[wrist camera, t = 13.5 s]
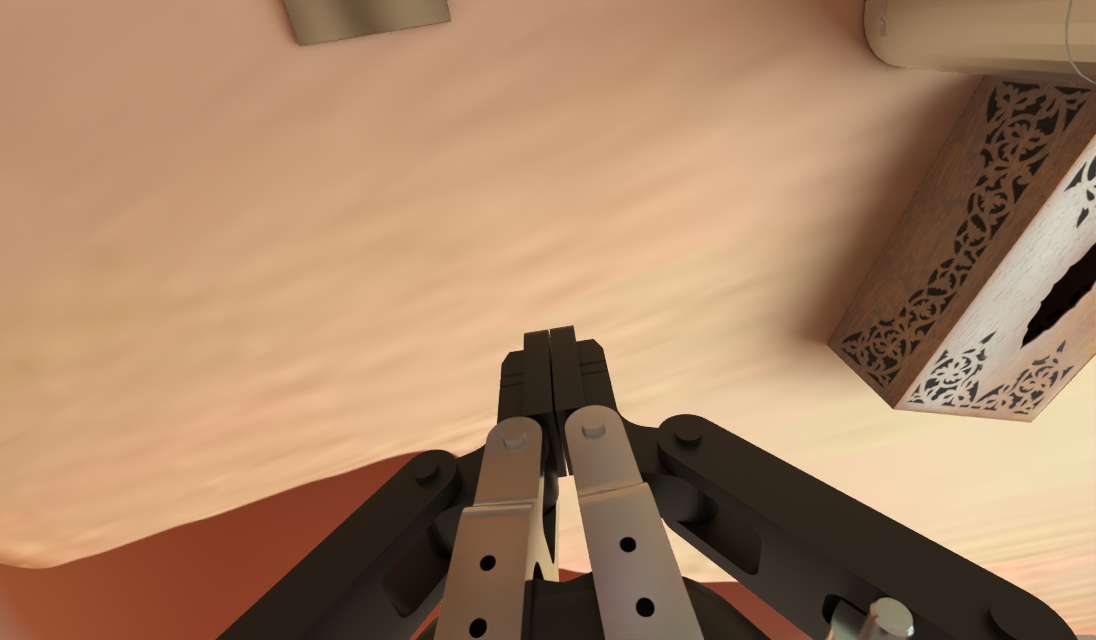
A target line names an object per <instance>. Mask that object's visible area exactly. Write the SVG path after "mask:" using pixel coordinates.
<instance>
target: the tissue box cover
mask: <svg viewBox="0 0 1096 640" xmlns="http://www.w3.org/2000/svg"><path fill="white" fill-rule="evenodd" d="M827 345H828V346H829V347H830V348H831V349H832V350H833V351H834V352H835V353H836V354H837V355H838V356H839V357H840V358H841V359H842V360H843V361H844V362H845V363H846V364H847V365H848V366H849V367H850V368H851V369H852V370H853V371H854V372H855V373H856V374H857V375H859V376H860V377H861V378H862V379H863V380H864V381H865V382H866V383H867V384H868V385H869V386H870V387H871V388H872V389H873V390H874V391H875V392H876V393H877V394H878V395H879V396H880V397H881V398H882V399H883V400H884V401H885V402H886V403H887V404H888V405H889V406H890V407H891V408H892V409H896V410H906V411H917V412H927V413H937V414H948V415H958V416H968V417H979V418H989V419H999V420H1009V421H1020V422H1030V423H1031V422H1032V421H1033V420H1034V419H1035V418H1036V417H1037V416H1038V414H1039V413H1040V412H1041V411H1042V410H1043V409H1044V408H1045V407H1046V406H1047V405H1048V404H1049V403H1050V402H1051V401H1052V400H1053V399H1054V398H1055V397H1056V396H1057V395H1058V393H1059V392H1060V391H1061V390H1062V389H1063V388H1064V387H1065V386H1066V385H1067V384H1068V383H1069V382H1070V381H1071V380H1072V379H1073V378H1074V377H1075V376H1076V375H1077V374H1078V372H1079V371H1080V370H1081V369H1082V368H1083V367H1084V366H1085V365H1086V364H1087V363H1088V362H1089V361H1090V360H1091V359H1092V358H1093V357H1094V356H1095V355H1096V85H1091V84H1080V83H1068V82H1057V81H1046V80H1035V79H1023V78H1012V77H1001V76H990V75H985V76H984V77H983V79H982V81H981V83H980V84H979V86H978V88H977V89H976V91H975V93H974V95H973V96H972V98H971V100H970V101H969V103H968V105H967V107H966V108H965V110H964V112H963V113H962V115H961V117H960V118H959V120H958V122H957V124H956V125H955V127H954V129H953V130H952V132H951V134H950V136H949V137H948V139H947V141H946V142H945V144H944V146H943V148H942V149H941V151H940V153H939V154H938V156H937V158H936V159H935V161H934V163H933V165H932V166H931V168H930V170H929V171H928V173H927V175H926V177H925V178H924V180H923V182H922V183H921V185H920V187H919V189H918V190H917V192H916V194H915V195H914V197H913V199H912V200H911V202H910V204H909V206H908V207H907V209H906V211H905V212H904V214H903V216H902V218H901V219H900V221H899V223H898V224H897V226H896V228H895V230H894V231H893V233H892V235H891V236H890V238H889V240H888V241H887V243H886V245H885V247H884V248H883V250H882V252H881V253H880V255H879V257H878V259H877V260H876V262H875V264H874V265H873V267H872V269H871V271H870V272H869V274H868V276H867V277H866V279H865V281H864V282H863V284H862V286H861V288H860V289H859V291H858V293H857V294H856V296H855V298H854V300H853V301H852V303H851V305H850V306H849V308H848V310H847V312H846V313H845V315H844V317H843V318H842V320H841V322H840V323H839V325H838V327H837V329H836V330H835V332H834V334H833V335H832V337H831V339H830V341H829V342H828V344H827Z"/></svg>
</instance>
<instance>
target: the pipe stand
mask: <svg viewBox="0 0 1096 640" xmlns="http://www.w3.org/2000/svg"><path fill="white" fill-rule="evenodd" d="M283 2H284V5H285V7H286V10H287V13H288V16H289V18H290V21H291V24H292V26H293V29H294V32H295V35H296V37H297V40H298V43H299V46H306V45H312V44H318V43H324V42H329V41H335V40H341V39H347V38H353V37H359V36H365V35H371V34H377V33H382V32H388V31H394V30H400V29H406V28H412V27H418V26H424V25H430V24H435V23H441V22H447V21H451V19H450V14H449V10H448V5H447V0H283Z"/></svg>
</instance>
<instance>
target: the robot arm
mask: <svg viewBox="0 0 1096 640" xmlns="http://www.w3.org/2000/svg"><path fill="white" fill-rule="evenodd" d="M864 26H865V35H866V37H867V40H868V43H869V46H870V48H871V49H872V51H873V52H874V53H875V55H876V56H877V57H878V58H880V59H881V60H882V61H883V62H885V63H887V64H890V65H893V66H895V67H905V68H916V69H927V70H937V71H945V72H956V73H967V74H978V75H990V76H1001V77H1012V78H1023V79H1035V80H1046V81H1057V82H1068V83H1080V84H1091V85H1096V0H866V2H865V12H864ZM565 458H566V460H565ZM566 462H567V467H568V472H569V476H570V475H574V480H575V485H576V490H577V495H578V501H579V506H580V512H581V517H582V522H583V527H584V532H585V537H586V542H587V548H588V553H589V558H590V563H591V568H592V572H590V573H587V574H585V575H582V576H580V577H577V578H575V579H572V580H570V581H567V582H559V576H558V559H559V509H560V505H559V499H558V495H559V486H558V477H564V476H567V472H566ZM661 518H663V520H664V521H665V523H666V524H667V526H668V527H669V528H670V529H671V530H673V531H674V532H675V533H677V534H678V535H679V536H680V537H682V538H683V539H684V540H686V541H687V542H688V543H689V544H691V545H692V546H693V547H695V548H696V549H697V550H698V551H700V552H701V553H702V554H704V555H705V556H706V557H708V558H709V559H710V560H711V561H713V562H714V563H715V564H717V565H718V566H719V567H720V568H722V569H723V570H724V571H726V572H727V573H728V574H729V575H731V576H732V577H733V578H735V579H736V580H737V581H739V582H740V583H741V584H742V585H744V586H745V587H746V588H748V589H749V590H750V591H752V592H753V593H754V594H756V595H757V596H758V597H759V598H760V599H762V600H763V601H764V602H766V603H767V604H768V605H770V606H771V607H772V608H774V609H775V610H776V611H777V612H779V613H780V614H782V616H784V617H785V618H786V619H788V620H789V621H790V622H792V623H793V624H794V625H795V626H797V627H798V628H799V629H801V630H802V631H803V632H805V633H806V634H807V635H808V636H810V637H811V638H812V639H814V640H1078V639H1077V638H1076V636H1075V634H1074V633H1073V631H1072V630H1071V628H1070V627H1069V626H1068V625H1067V624H1066V622H1065V621H1064V620H1063V619H1062V618H1061V617H1060V616H1059V615H1058V614H1057V613H1056V612H1055V611H1054V610H1053V609H1051V608H1050V607H1049V606H1048V605H1047V604H1045V603H1044V602H1042V601H1041V600H1040V599H1038V598H1037V597H1035V596H1033V595H1032V594H1030V593H1028V592H1027V591H1025V590H1023V589H1021V588H1019V587H1017V586H1016V585H1014V584H1012V583H1010V582H1008V581H1006V580H1004V579H1003V578H1001V577H999V576H997V575H995V574H993V573H991V572H990V571H988V570H986V569H984V568H982V567H980V566H978V565H977V564H975V563H973V562H971V561H969V560H967V559H965V558H964V557H962V556H960V555H958V554H956V553H954V552H952V551H951V550H949V549H947V548H945V547H943V546H941V545H939V544H937V543H936V542H934V541H932V540H930V539H928V538H926V537H924V536H923V535H921V534H919V533H917V532H915V531H913V530H911V529H910V528H908V527H906V526H904V525H902V524H900V523H898V522H897V521H895V520H893V519H891V518H889V517H887V516H885V515H884V514H882V513H880V512H878V511H876V510H874V509H872V508H871V507H869V506H867V505H865V504H863V503H861V502H859V501H858V500H856V499H854V498H852V497H850V496H848V495H846V494H845V493H843V492H841V491H839V490H837V489H835V488H833V487H832V486H830V485H828V484H826V483H824V482H822V481H820V480H819V479H817V478H815V477H813V476H811V475H809V474H807V473H805V472H804V471H802V470H800V469H798V468H796V467H794V466H792V465H791V464H789V463H787V462H785V461H783V460H781V459H779V458H778V457H776V456H774V455H772V454H770V453H768V452H766V451H765V450H763V449H761V448H759V447H757V446H755V445H753V444H752V443H750V442H748V441H746V440H744V439H742V438H740V437H739V436H737V435H735V434H733V433H731V432H729V431H727V430H726V429H724V428H722V427H720V426H718V425H716V424H714V423H713V422H711V421H709V420H707V419H705V418H703V417H700V416H697V415H691V414H681V415H676V416H672V417H670V418H668V419H666V420H665V421H664V422H663V423H662V424H661V425H660V426H659V428H653V427H645V426H639V425H636V424H633V423H631V422H629V421H627V420H626V419H625V418H623V417H622V416H621V414H620V413H619V412H618V410H617V407H616V403H615V398H614V394H613V390H612V385H611V381H610V377H609V372H608V368H607V364H606V359H605V355H604V351H603V348H602V347H601V346H600V345H599V344H598V343H597V342H596V341H595V340H594V339H590V340H584V341H577V342H576V338H575V332H574V326H573V325H572V326H566V327H560V328H553V329H550V335H549V331H548V330H542V331H535V332H529V333H524V350H521V351H515V352H509V354H508V355H507V357H506V358H505V360H504V361H503V363H502V367H501V380H500V392H499V405H498V418H497V425H496V426H495V427H494V428H493V429H492V430H491V431H490V432H489V434H488V437H487V440H486V444H485V445H483V446H482V447H481V448H479V449H477V450H476V451H473V452H471V453H469V454H467V455H464V456H462V457H459V458H457V459H455V458H454V456H453V455H452V454H451V453H449V452H447V451H444V450H430V451H426V452H423V453H421V454H419V455H417V456H416V457H414V458H412V459H411V460H410V461H409V462H408V463H407V464H406V465H404V466H403V467H402V468H401V469H400V470H399V471H398V472H397V473H396V474H395V475H394V476H393V477H392V478H390V479H389V480H388V481H387V482H386V483H385V484H384V485H383V486H382V487H381V488H380V489H378V490H377V491H376V492H375V493H374V494H373V495H372V496H371V497H370V498H369V499H368V500H367V501H366V502H364V503H363V504H362V505H361V506H360V507H359V508H358V509H357V510H356V511H355V512H354V513H352V514H351V515H350V516H349V517H348V518H347V519H346V520H345V521H344V522H343V523H342V524H340V525H339V526H338V527H337V528H336V529H335V530H334V531H333V532H332V533H331V534H330V535H329V536H328V537H326V538H325V539H324V540H323V541H322V542H321V543H320V544H319V545H318V546H317V547H316V548H314V549H313V550H312V551H311V552H310V553H309V554H308V555H307V556H306V557H305V558H304V559H303V560H301V561H300V562H299V563H298V564H297V565H296V566H295V567H294V568H293V569H292V570H291V571H290V572H289V573H287V574H286V575H285V576H284V577H283V578H282V579H281V580H280V581H279V582H278V583H277V584H275V585H274V586H273V587H272V588H271V589H270V590H269V591H268V592H267V593H266V594H265V595H264V596H262V597H261V598H260V599H259V600H258V601H257V602H256V603H255V604H254V605H253V606H252V607H250V608H249V609H248V610H247V611H246V612H245V613H244V614H243V615H242V616H241V617H240V618H239V619H237V620H236V621H235V622H234V623H233V624H232V625H231V626H230V627H229V628H228V629H227V630H226V631H225V632H224V633H222V634H221V635H220V636H219V637H218V638H217V639H216V640H409V639H410V637H411V636H412V635H413V634H414V632H415V631H416V630H417V629H418V627H419V626H420V625H421V624H422V623H423V621H424V620H425V619H426V618H427V616H428V615H429V614H430V613H431V611H432V610H433V609H434V608H435V607H436V605H437V604H438V603H439V602H440V600H441V599H442V598H443V599H442V603H441V608H440V612H439V616H438V617H437V618H436V619H435V620H433V621H432V622H431V623H430V624H429V626H427V628H426V629H425V630H424V631H423V632H422V633H421V634H420V635H419V637H418V638H417V639H416V640H771V639H770V638H769V637H768V636H766V635H765V634H764V633H763V632H762V631H761V630H759V629H758V628H757V627H756V626H755V625H754V624H753V623H751V622H750V621H749V620H748V619H747V618H746V617H745V616H743V615H742V614H741V613H740V612H739V611H738V610H737V609H735V608H734V607H733V606H732V605H731V604H730V603H728V602H727V601H726V600H725V599H724V598H722V597H721V596H720V595H718V594H717V593H715V592H714V591H713V590H711V589H710V588H708V587H706V586H704V585H702V584H700V583H699V582H696V581H694V580H691V579H689V578H686V577H683V576H681V573H680V570H679V567H678V565H677V562H676V559H675V556H674V554H673V551H672V548H671V545H670V542H669V540H668V537H667V534H666V531H665V528H664V526H663V523H662V520H661Z"/></svg>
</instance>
